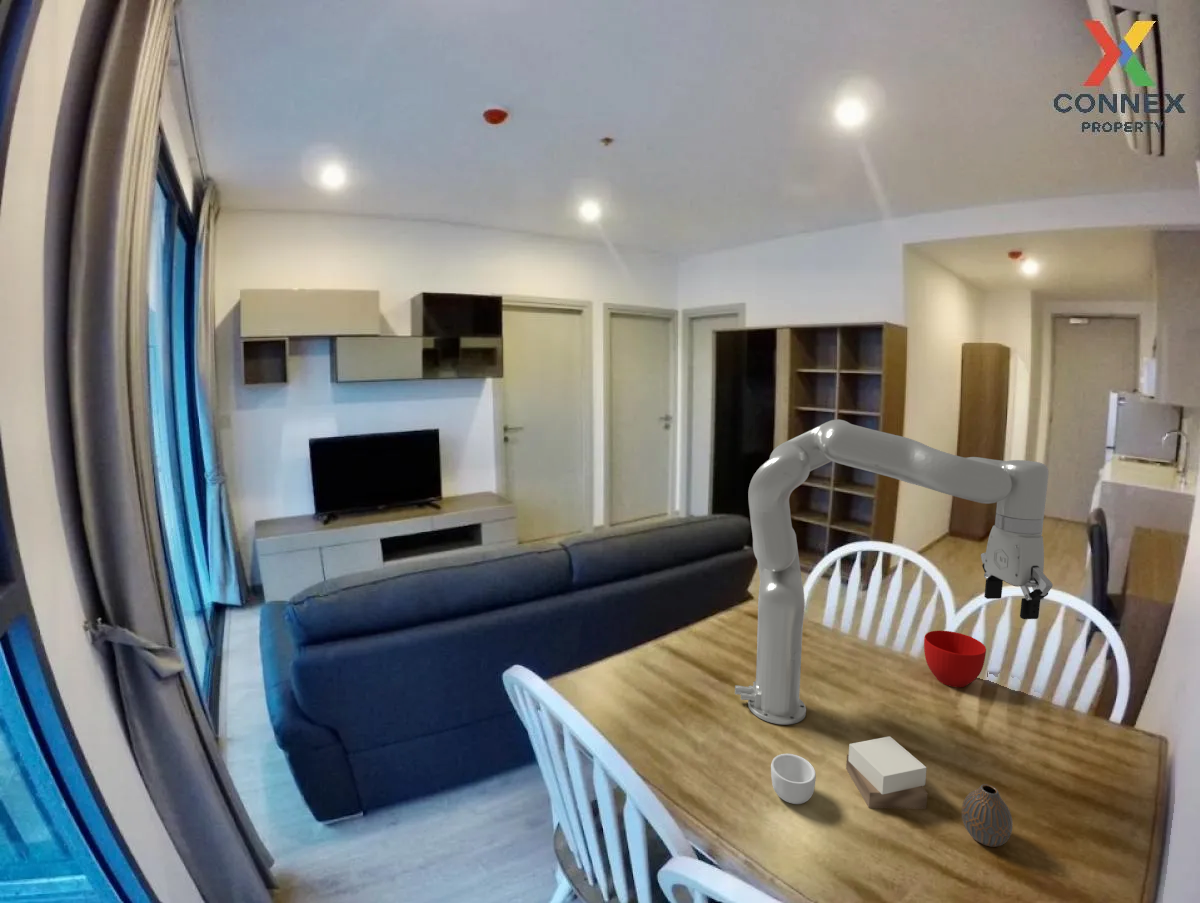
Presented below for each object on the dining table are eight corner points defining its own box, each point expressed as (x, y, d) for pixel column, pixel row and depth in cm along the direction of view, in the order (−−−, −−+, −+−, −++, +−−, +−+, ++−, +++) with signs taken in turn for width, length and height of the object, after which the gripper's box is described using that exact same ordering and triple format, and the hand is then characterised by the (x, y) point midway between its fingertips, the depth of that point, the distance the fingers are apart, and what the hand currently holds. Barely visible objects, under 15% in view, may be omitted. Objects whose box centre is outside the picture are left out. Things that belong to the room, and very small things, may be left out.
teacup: (817, 814, 100) (819, 786, 99) (771, 807, 102) (773, 780, 101) (808, 774, 110) (810, 749, 109) (767, 769, 111) (768, 743, 111)
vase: (950, 822, 98) (954, 775, 97) (988, 819, 99) (993, 773, 97) (980, 856, 91) (985, 806, 90) (1020, 852, 92) (1026, 803, 91)
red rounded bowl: (997, 677, 143) (1001, 639, 142) (969, 701, 133) (973, 661, 132) (941, 657, 154) (944, 621, 152) (911, 677, 144) (914, 640, 142)
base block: (868, 810, 101) (869, 792, 101) (845, 771, 111) (846, 754, 111) (925, 811, 101) (927, 793, 101) (897, 771, 111) (899, 755, 111)
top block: (882, 794, 100) (883, 776, 100) (848, 760, 109) (849, 743, 109) (925, 785, 103) (926, 767, 102) (888, 752, 111) (889, 736, 111)
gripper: (969, 513, 120) (962, 591, 123) (1034, 537, 103) (1024, 627, 105) (1004, 512, 120) (997, 590, 123) (1075, 536, 103) (1064, 627, 106)
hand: (1010, 607), depth 114 cm, fingers open, 9 cm apart
